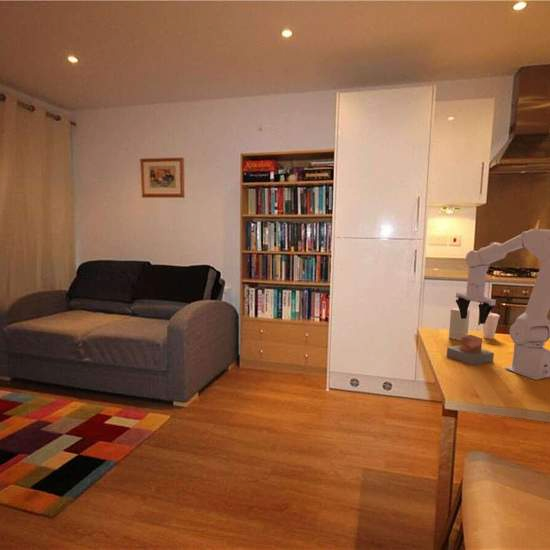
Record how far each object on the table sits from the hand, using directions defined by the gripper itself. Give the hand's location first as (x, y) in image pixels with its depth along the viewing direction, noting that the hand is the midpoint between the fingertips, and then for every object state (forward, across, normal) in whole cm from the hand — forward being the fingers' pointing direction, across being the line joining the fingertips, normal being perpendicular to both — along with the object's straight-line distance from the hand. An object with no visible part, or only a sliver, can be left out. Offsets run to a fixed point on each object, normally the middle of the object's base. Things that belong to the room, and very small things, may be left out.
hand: (472, 320), depth 136 cm
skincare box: (+11, +10, -6) cm, 16 cm away
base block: (+10, -7, +10) cm, 16 cm away
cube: (+8, -7, +10) cm, 14 cm away
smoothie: (+11, +7, -20) cm, 24 cm away
